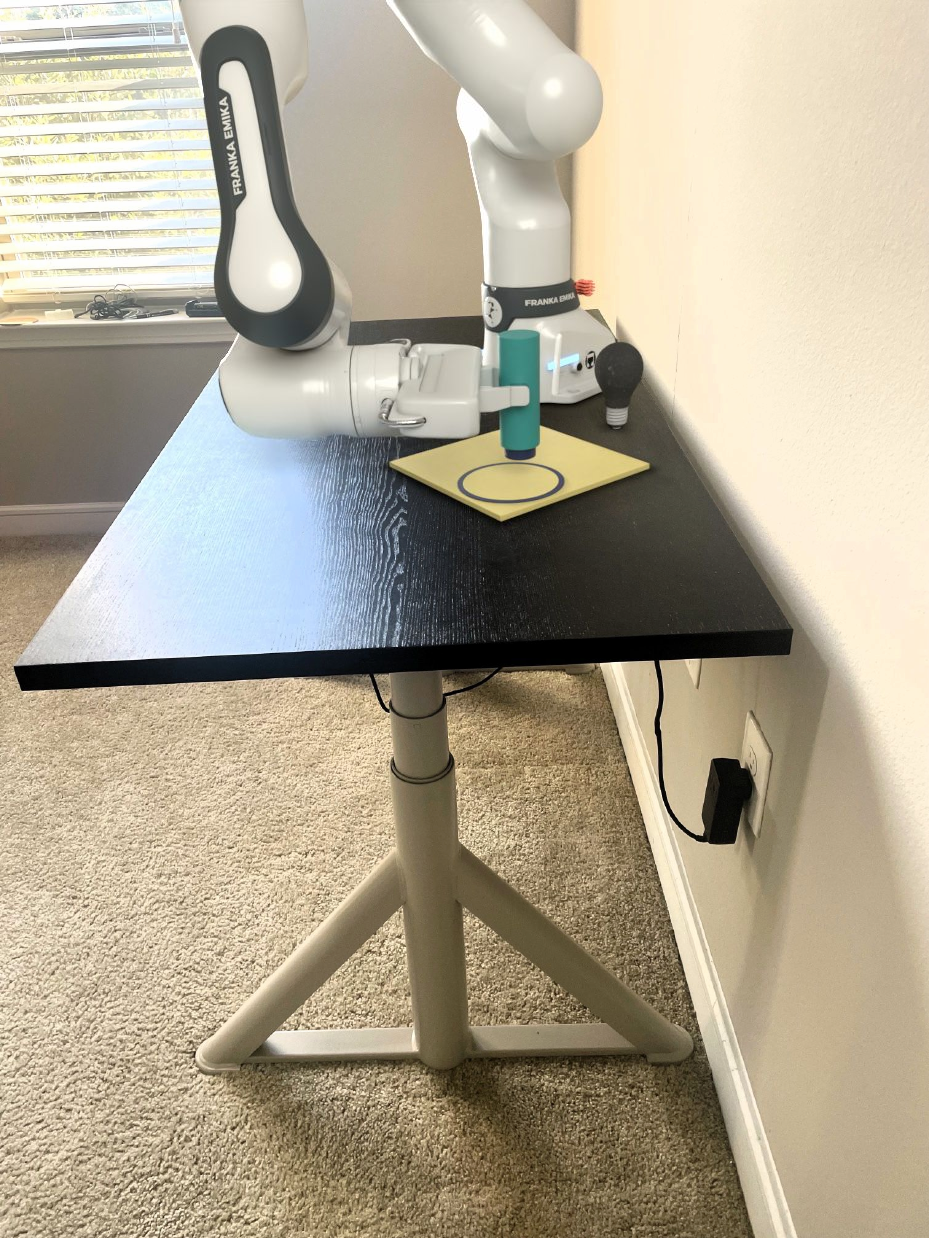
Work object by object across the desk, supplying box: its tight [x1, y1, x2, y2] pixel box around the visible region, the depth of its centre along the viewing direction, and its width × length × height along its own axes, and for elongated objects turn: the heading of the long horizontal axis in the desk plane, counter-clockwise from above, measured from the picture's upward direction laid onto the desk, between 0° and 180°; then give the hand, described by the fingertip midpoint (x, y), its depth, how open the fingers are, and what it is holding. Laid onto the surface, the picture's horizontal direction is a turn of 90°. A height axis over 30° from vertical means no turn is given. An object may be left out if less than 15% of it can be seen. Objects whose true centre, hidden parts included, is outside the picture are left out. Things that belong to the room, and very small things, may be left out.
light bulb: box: [594, 341, 644, 430], centre depth 100 cm, size 6×6×10 cm
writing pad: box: [388, 425, 650, 522], centre depth 93 cm, size 20×20×1 cm
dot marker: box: [498, 329, 541, 460], centre depth 85 cm, size 4×4×12 cm
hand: (528, 386), depth 84 cm, fingers closed on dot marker, 4 cm apart
